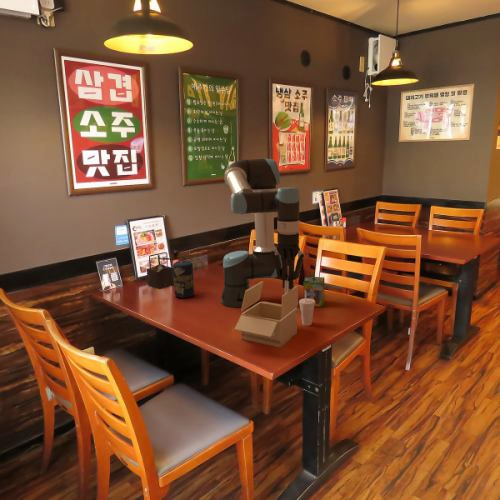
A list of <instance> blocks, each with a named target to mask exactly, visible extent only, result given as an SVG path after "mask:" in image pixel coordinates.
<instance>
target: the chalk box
mask: <svg viewBox="0 0 500 500" xmlns="http://www.w3.org/2000/svg"><path fill="white" fill-rule="evenodd" d="M305 290H306V298H308V299H313V300H315V305H314V308H315V307H317V308H319V307H320V308H324V307H325V277H324V276H315V274H314V271H313V270H312V271H311V276H304V280H303V299H305Z"/></svg>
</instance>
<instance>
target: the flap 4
mask: <svg viewBox="0 0 500 500" xmlns="http://www.w3.org/2000/svg"><path fill="white" fill-rule="evenodd" d="M281 305H282V308H281V318H284V317H285V316H286V315H287V314H289V313H290V312H291V311H292V310H294V309H295V308H296V307H297V308H298V305H299V285H295V286H294V287H293V289H291V290H290V291H288V292H287V293H285V292H284V294H282V295H281Z"/></svg>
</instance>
